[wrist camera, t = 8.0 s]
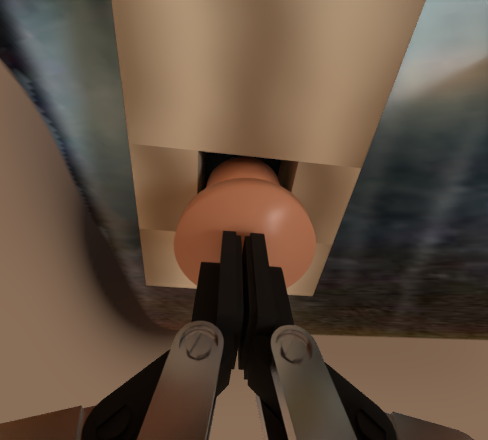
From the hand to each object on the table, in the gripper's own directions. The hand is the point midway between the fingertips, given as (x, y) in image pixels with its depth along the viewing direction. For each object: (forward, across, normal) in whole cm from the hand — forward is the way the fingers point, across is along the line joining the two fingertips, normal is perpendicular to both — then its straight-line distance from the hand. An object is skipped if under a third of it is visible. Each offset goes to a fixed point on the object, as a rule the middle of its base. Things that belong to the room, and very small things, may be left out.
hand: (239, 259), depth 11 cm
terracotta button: (+6, 0, 0) cm, 6 cm away
